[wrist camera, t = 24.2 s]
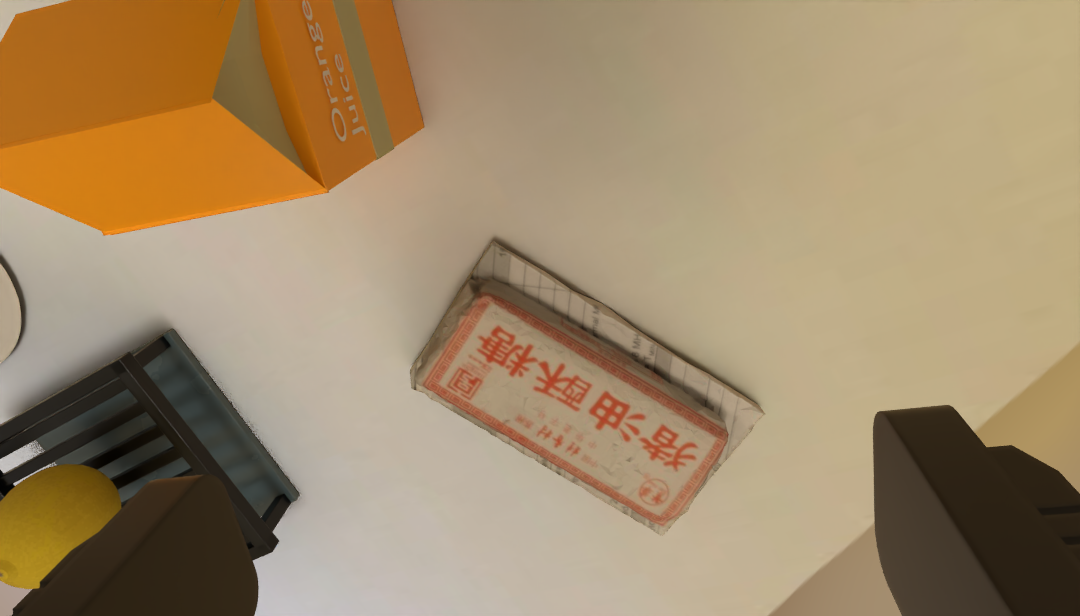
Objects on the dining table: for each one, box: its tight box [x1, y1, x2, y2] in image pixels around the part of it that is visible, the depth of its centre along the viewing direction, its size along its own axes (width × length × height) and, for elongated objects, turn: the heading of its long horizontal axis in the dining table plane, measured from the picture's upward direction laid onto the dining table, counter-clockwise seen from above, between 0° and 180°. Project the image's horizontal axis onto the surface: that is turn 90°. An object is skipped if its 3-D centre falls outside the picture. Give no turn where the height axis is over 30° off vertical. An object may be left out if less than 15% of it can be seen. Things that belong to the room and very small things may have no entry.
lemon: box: [0, 464, 121, 589], centre depth 41 cm, size 6×6×8 cm
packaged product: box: [410, 241, 765, 536], centre depth 43 cm, size 18×5×10 cm
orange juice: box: [0, 0, 424, 235], centre depth 30 cm, size 8×9×20 cm
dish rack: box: [0, 329, 299, 560], centre depth 46 cm, size 14×13×8 cm
